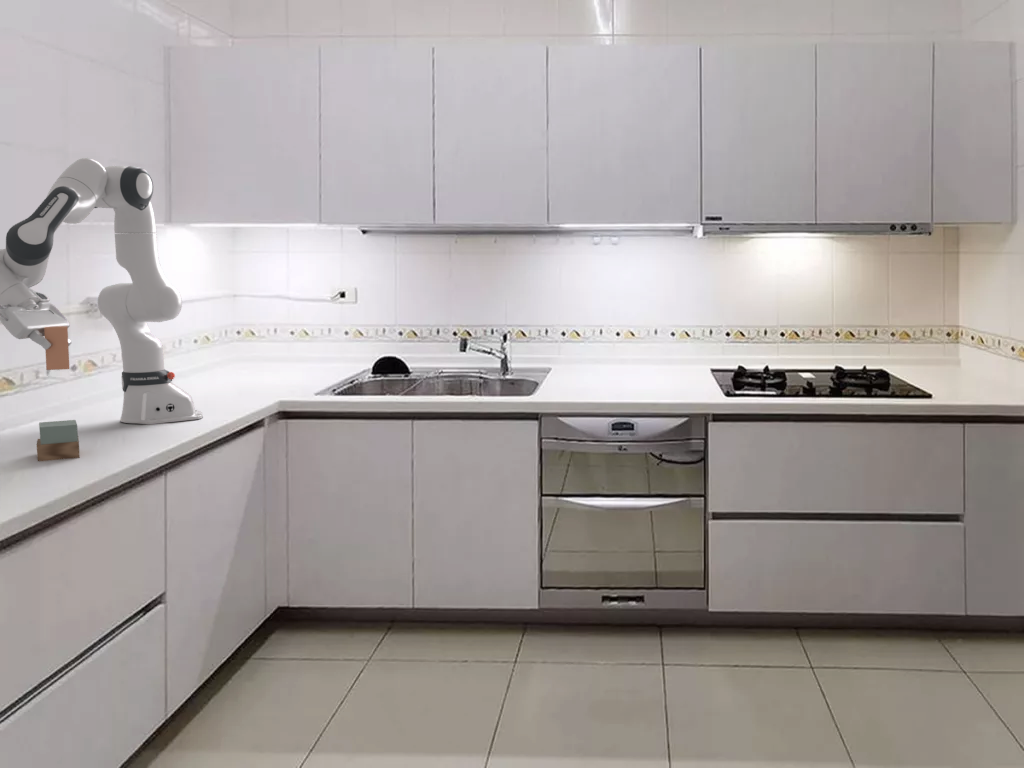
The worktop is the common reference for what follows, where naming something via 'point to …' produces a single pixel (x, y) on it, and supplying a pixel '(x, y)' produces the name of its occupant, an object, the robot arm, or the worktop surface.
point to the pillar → (57, 348)
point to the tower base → (57, 451)
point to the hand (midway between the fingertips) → (59, 346)
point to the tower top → (58, 432)
